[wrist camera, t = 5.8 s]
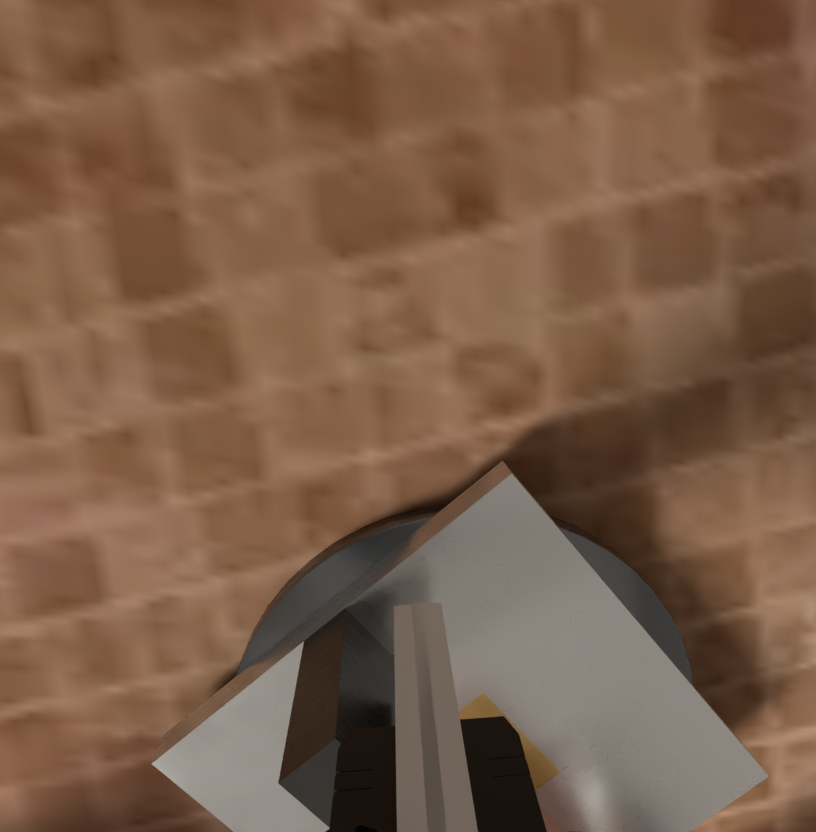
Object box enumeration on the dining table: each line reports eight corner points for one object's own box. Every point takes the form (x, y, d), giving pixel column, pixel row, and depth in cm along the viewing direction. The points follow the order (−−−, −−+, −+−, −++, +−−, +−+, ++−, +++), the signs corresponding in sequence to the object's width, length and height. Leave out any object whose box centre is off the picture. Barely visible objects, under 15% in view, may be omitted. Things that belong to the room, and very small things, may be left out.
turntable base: (205, 521, 19) (196, 535, 18) (692, 487, 20) (709, 498, 19) (259, 911, 23) (254, 939, 22) (667, 868, 23) (680, 894, 22)
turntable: (164, 734, 19) (70, 945, 13) (502, 460, 18) (571, 554, 12) (438, 966, 22) (465, 1225, 16) (746, 747, 21) (901, 941, 15)
